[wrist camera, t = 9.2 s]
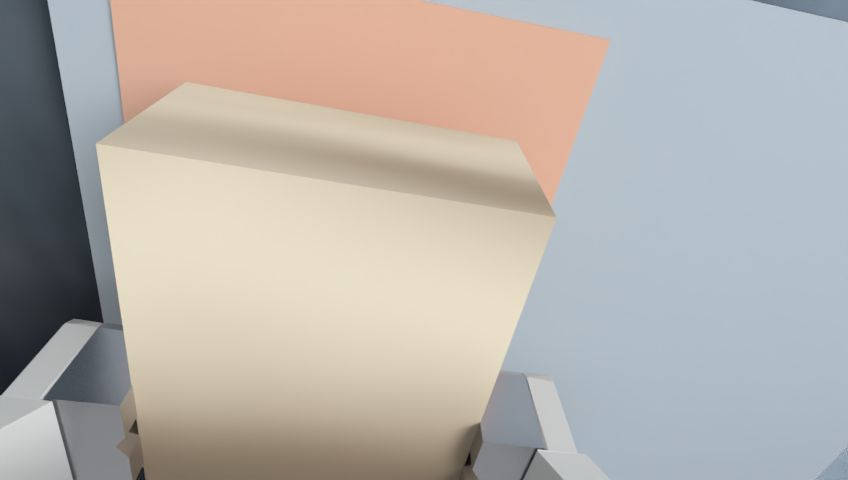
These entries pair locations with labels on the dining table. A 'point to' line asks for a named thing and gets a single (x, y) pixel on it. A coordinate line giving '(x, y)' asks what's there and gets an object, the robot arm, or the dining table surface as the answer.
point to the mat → (577, 188)
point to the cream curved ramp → (313, 285)
